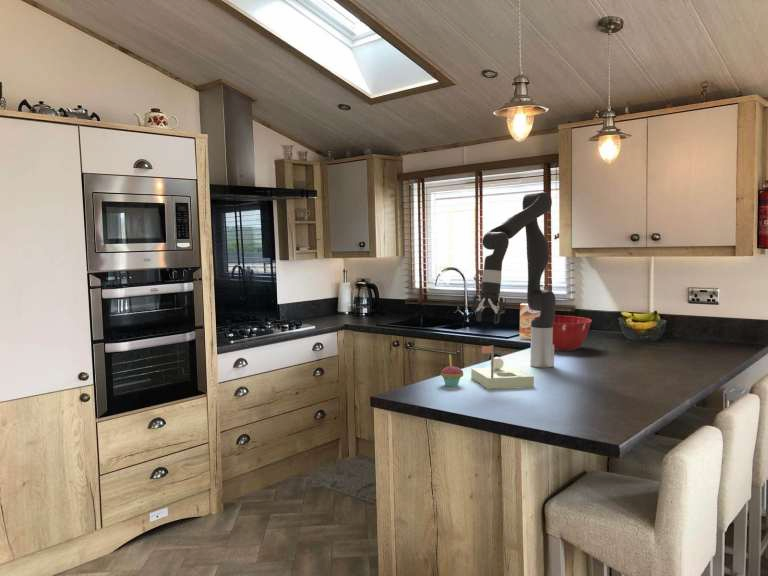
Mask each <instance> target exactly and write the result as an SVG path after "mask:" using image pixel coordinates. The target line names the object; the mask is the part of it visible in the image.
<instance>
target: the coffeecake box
mask: <svg viewBox="0 0 768 576" xmlns="http://www.w3.org/2000/svg"><path fill="white" fill-rule="evenodd" d="M540 313H541V311H535V310H531V309H530V308H529V306H528V303H520V306H519V340H530V339H531V321H532V320H533V318H534V317H538V316H540Z"/></svg>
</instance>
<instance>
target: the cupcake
mask: <svg viewBox="0 0 768 576" xmlns="http://www.w3.org/2000/svg"><path fill="white" fill-rule="evenodd" d="M448 358H449V366H446V367H444V368H443V369H441V371H440V376H441V377H442V378H443V381H444V384H445V386H447V387H458V386H459V383H460V379H461V378H462V377H463V376H464V371H463V369H461V368H460V367H456V366H453V365H452V355H451V354H449V355H448Z"/></svg>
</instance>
